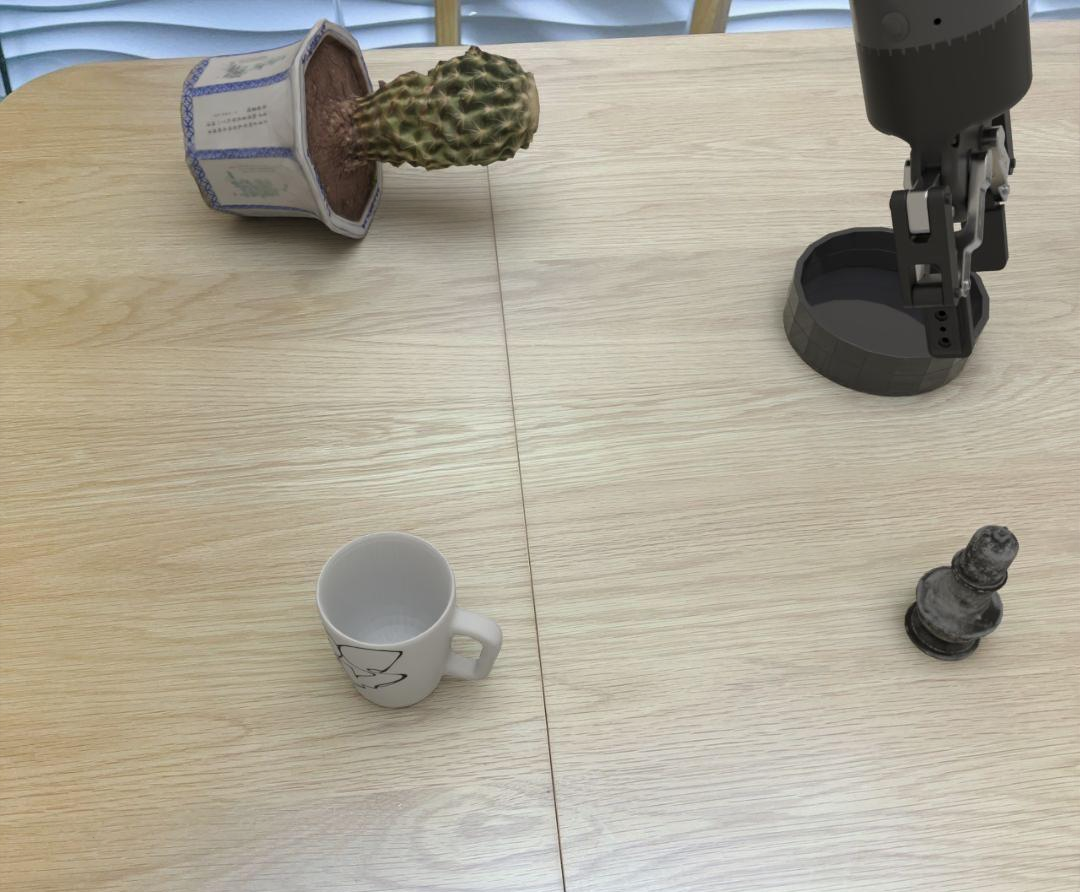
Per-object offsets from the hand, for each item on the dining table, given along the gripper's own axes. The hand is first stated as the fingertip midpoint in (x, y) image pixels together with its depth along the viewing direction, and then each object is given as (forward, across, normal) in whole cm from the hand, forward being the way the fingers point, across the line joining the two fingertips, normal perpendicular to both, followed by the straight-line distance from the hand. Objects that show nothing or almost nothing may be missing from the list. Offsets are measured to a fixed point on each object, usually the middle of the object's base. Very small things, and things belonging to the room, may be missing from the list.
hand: (970, 309), depth 60 cm
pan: (+19, +27, +15) cm, 36 cm away
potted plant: (0, +19, +57) cm, 60 cm away
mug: (+14, -21, +32) cm, 41 cm away
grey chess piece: (+26, 0, +4) cm, 26 cm away
